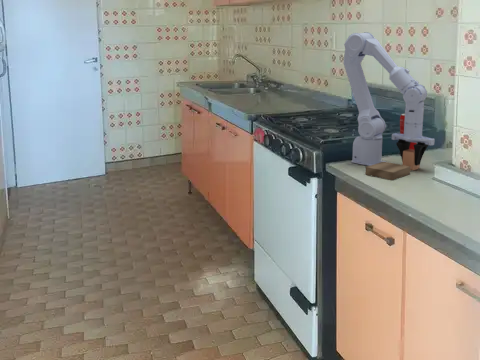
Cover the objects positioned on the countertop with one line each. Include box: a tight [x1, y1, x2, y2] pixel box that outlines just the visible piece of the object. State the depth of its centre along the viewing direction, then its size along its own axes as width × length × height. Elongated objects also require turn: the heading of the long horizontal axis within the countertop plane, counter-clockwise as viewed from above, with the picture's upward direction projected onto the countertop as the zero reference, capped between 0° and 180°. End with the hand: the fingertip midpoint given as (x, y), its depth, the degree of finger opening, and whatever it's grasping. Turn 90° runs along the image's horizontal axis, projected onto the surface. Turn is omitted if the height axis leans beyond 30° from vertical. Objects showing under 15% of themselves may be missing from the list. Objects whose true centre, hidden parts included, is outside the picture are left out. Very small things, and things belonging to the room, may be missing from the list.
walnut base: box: [364, 161, 411, 181], centre depth 182 cm, size 10×10×2 cm
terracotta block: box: [401, 149, 421, 171], centre depth 188 cm, size 4×4×6 cm
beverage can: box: [399, 112, 418, 150], centre depth 206 cm, size 6×6×15 cm
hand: (411, 163), depth 189 cm, fingers closed on terracotta block, 4 cm apart
